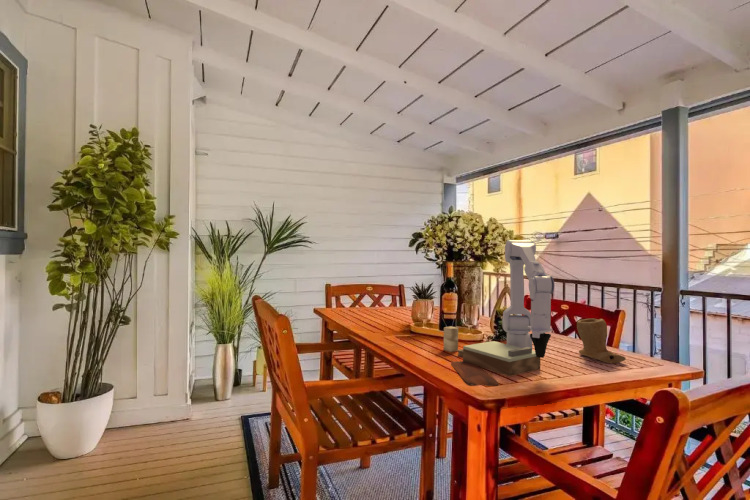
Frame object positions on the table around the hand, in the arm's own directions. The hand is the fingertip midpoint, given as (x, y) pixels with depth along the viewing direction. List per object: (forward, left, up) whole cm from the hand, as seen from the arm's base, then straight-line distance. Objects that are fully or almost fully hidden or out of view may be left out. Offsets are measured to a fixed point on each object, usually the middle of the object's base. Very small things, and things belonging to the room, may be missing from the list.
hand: (540, 356), depth 128 cm
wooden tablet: (+15, -15, -7) cm, 22 cm away
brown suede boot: (-38, -2, -7) cm, 39 cm away
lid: (0, -16, -2) cm, 16 cm away
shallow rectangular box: (0, -19, -6) cm, 20 cm away
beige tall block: (0, -40, -6) cm, 41 cm away
